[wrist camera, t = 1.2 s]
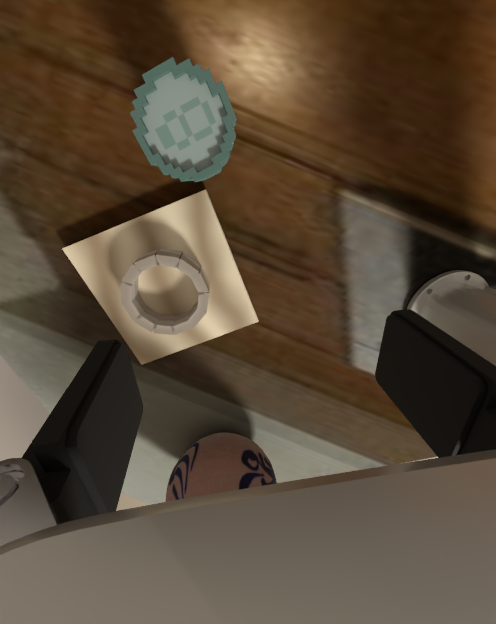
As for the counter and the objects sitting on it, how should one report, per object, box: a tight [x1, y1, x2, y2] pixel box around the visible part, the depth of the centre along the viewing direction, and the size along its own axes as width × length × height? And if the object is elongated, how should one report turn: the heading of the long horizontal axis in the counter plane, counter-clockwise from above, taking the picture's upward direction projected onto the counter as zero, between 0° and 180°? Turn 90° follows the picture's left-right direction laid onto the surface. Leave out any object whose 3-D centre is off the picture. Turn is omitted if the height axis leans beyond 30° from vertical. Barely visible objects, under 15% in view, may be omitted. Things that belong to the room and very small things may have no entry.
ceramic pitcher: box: [166, 433, 277, 502], centre depth 41 cm, size 18×21×25 cm
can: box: [130, 57, 236, 182], centre depth 24 cm, size 6×6×15 cm
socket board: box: [63, 189, 259, 365], centre depth 35 cm, size 18×18×4 cm
